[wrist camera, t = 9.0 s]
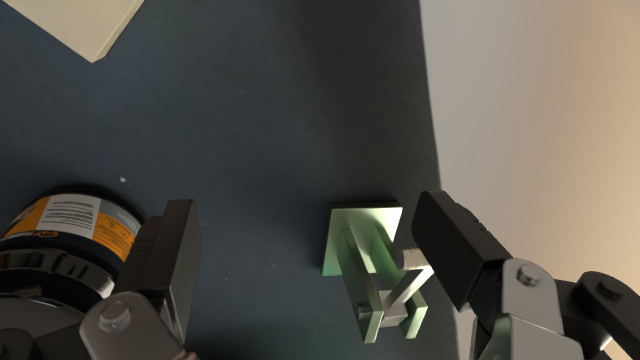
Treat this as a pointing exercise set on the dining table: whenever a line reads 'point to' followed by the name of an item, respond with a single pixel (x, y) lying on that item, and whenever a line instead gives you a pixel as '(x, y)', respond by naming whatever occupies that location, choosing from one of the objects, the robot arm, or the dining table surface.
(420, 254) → the switch lever
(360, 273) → the switch bracket
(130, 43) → the dining table surface
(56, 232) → the supplement container
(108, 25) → the button base
